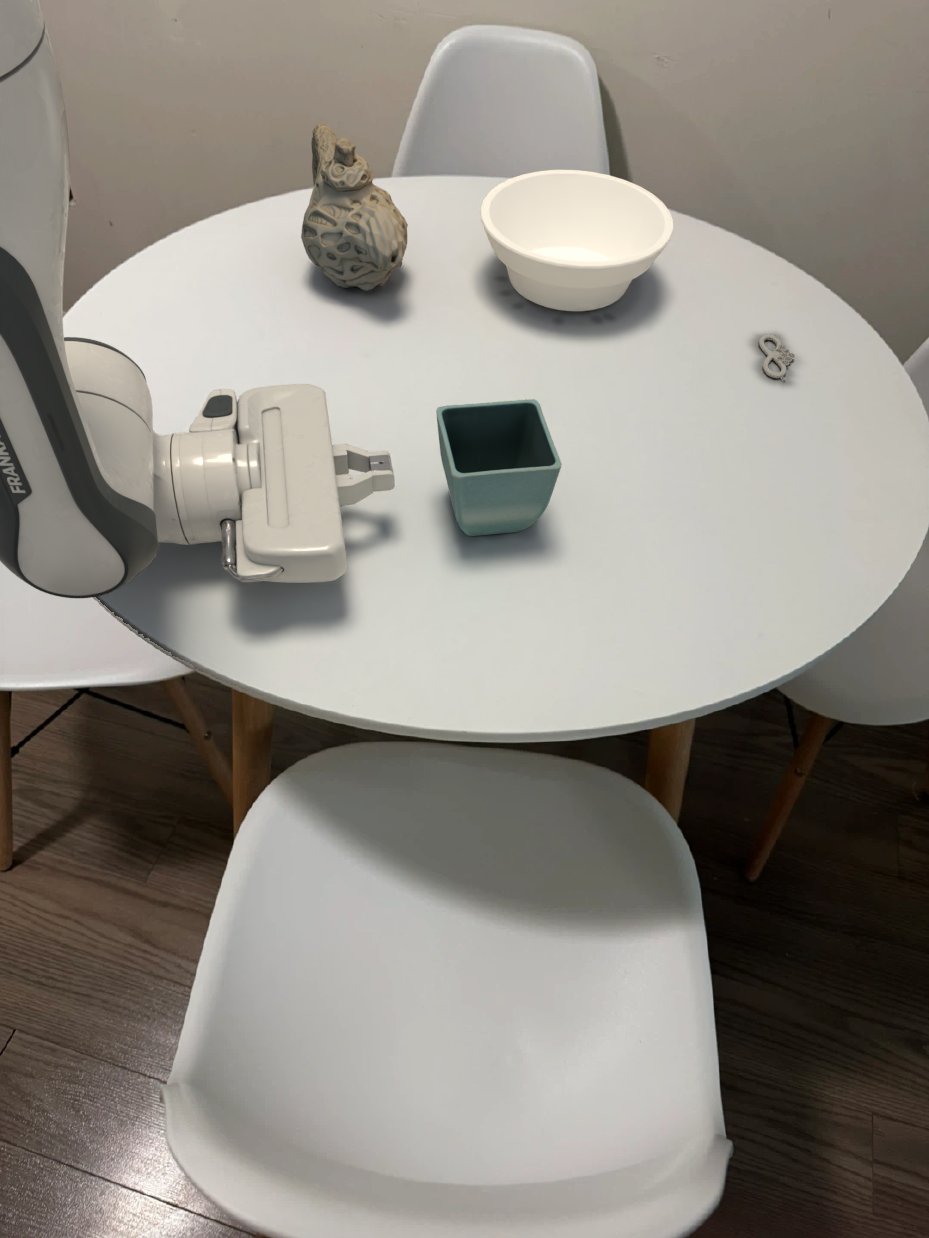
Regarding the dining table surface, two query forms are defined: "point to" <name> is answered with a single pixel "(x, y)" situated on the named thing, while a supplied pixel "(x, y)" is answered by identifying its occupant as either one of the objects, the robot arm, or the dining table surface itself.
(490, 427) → the flower pot
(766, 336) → the charm
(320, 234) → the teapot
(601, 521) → the dining table surface
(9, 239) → the robot arm
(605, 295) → the bowl
